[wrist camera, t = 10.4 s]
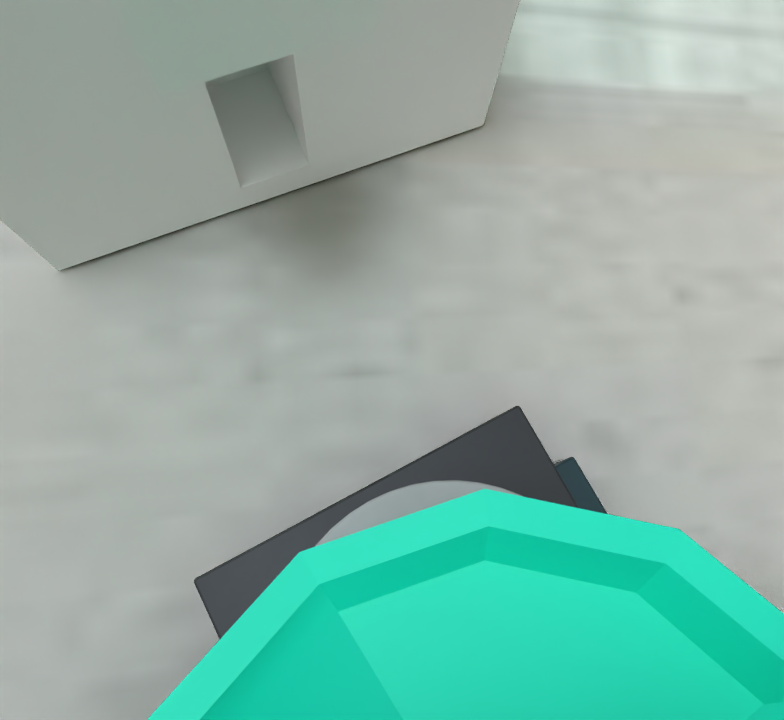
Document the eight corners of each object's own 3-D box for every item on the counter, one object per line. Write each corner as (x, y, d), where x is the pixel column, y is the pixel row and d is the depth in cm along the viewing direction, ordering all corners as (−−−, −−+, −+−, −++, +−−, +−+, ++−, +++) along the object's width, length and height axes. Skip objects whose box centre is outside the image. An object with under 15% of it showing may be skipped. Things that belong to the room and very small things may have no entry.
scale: (526, 405, 22) (552, 384, 19) (701, 705, 20) (761, 735, 17) (212, 574, 21) (186, 581, 18) (369, 919, 19) (371, 994, 16)
